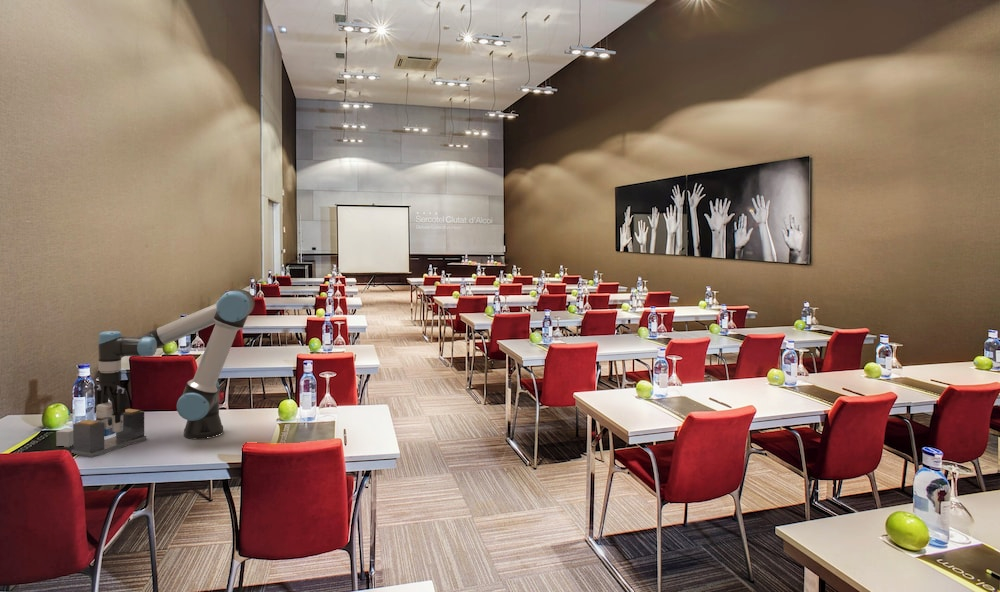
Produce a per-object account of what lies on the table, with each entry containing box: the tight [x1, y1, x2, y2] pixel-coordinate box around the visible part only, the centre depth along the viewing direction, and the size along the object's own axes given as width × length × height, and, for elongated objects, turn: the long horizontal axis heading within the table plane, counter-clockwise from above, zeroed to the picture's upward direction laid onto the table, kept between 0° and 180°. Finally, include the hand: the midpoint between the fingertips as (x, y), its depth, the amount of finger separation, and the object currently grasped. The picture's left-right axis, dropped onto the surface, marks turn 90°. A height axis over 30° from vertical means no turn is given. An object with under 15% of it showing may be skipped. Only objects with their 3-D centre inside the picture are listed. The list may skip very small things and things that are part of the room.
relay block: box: [55, 427, 73, 448], centre depth 241 cm, size 5×5×6 cm
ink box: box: [95, 401, 123, 437], centre depth 240 cm, size 8×5×12 cm, turn 168°
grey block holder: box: [71, 408, 147, 458], centre depth 241 cm, size 10×24×12 cm, turn 163°
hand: (110, 429), depth 241 cm, fingers closed on ink box, 5 cm apart
